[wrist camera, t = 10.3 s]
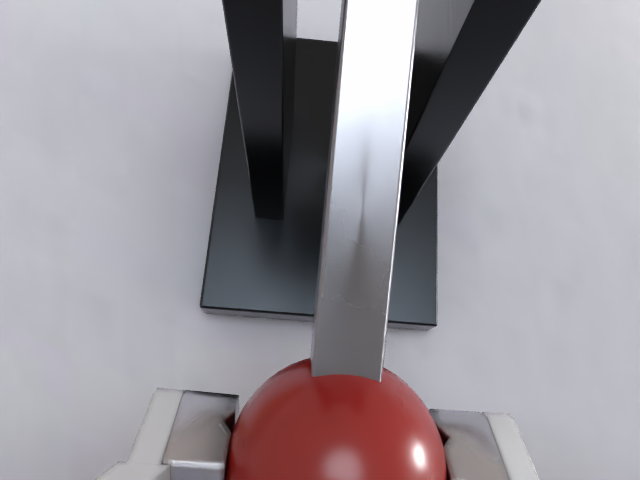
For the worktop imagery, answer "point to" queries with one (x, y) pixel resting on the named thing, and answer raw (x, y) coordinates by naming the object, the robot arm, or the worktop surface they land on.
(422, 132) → the bracket
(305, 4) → the worktop surface
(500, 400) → the worktop surface
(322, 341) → the lever
